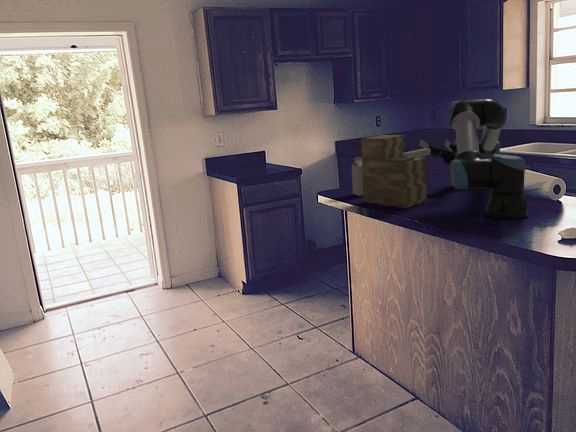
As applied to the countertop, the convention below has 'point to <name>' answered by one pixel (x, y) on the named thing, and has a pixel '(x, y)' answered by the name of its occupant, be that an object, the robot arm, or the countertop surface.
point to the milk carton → (357, 176)
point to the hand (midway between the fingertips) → (433, 142)
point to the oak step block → (392, 173)
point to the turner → (409, 156)
